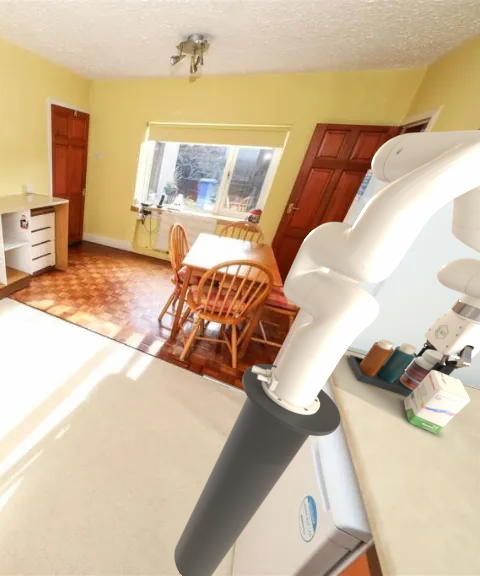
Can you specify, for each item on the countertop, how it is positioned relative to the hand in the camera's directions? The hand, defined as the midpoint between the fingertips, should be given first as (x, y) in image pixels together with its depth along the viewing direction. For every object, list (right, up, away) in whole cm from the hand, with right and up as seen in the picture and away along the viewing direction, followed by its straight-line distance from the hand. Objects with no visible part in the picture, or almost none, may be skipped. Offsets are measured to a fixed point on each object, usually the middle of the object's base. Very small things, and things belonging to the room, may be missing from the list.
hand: (429, 367), depth 73 cm
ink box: (-10, -11, -5) cm, 16 cm away
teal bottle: (-6, -5, +6) cm, 10 cm away
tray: (-4, -6, +5) cm, 9 cm away
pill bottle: (-1, -6, +3) cm, 7 cm away
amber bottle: (-10, -4, +8) cm, 13 cm away
